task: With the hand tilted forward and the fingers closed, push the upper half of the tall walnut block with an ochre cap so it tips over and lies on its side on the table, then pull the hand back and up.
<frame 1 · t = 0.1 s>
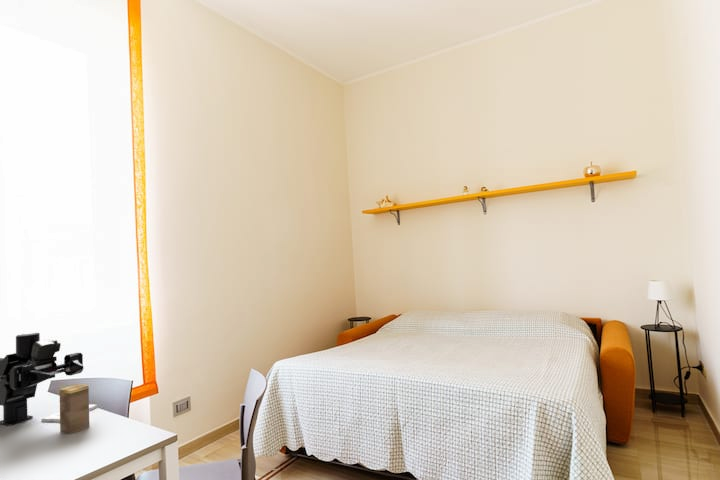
hand: (66, 371, 120), 17 cm above the table, tool horizontal, fingers open, 9 cm apart
walnut block: (74, 429, 119), on the table
external hard drive: (70, 416, 132), on the table
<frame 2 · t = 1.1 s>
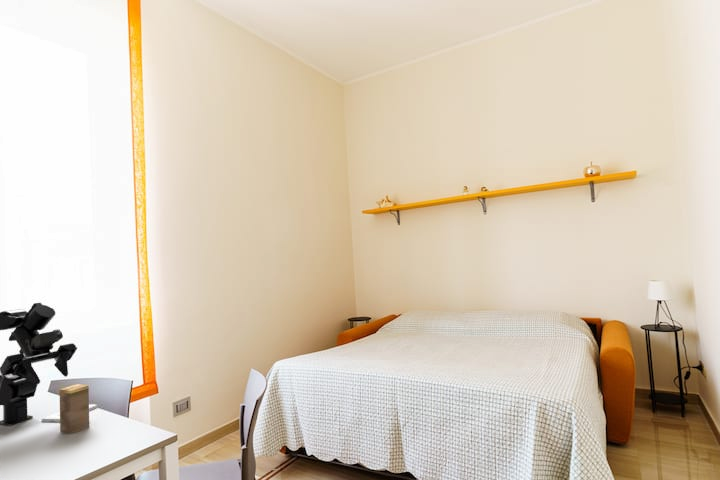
hand: (53, 379, 124), 14 cm above the table, tool tilted 45°, fingers open, 7 cm apart
nothing on the table moved.
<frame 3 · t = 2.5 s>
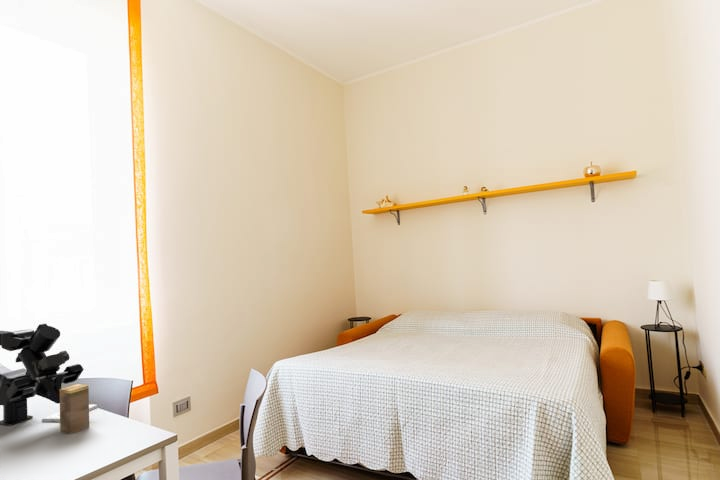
hand: (60, 402, 122), 7 cm above the table, tool tilted 45°, fingers closed
nothing on the table moved.
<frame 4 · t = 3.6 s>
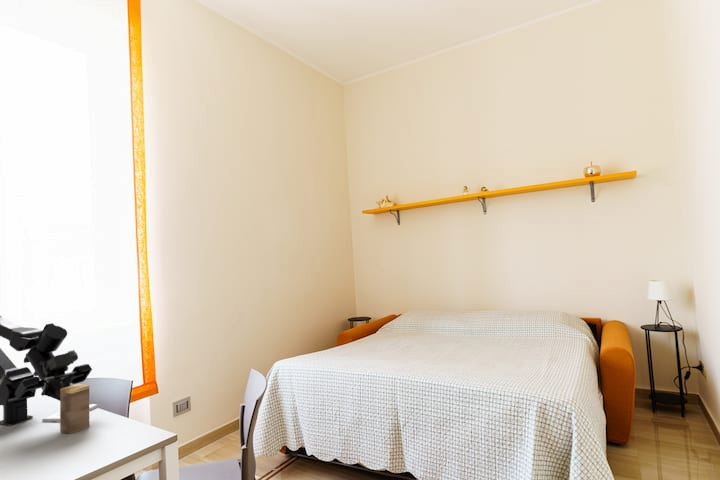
hand: (69, 402, 121), 7 cm above the table, tool tilted 45°, fingers closed, pressing on walnut block
walnut block: (74, 429, 119), on the table, touching gripper
everything else where it was.
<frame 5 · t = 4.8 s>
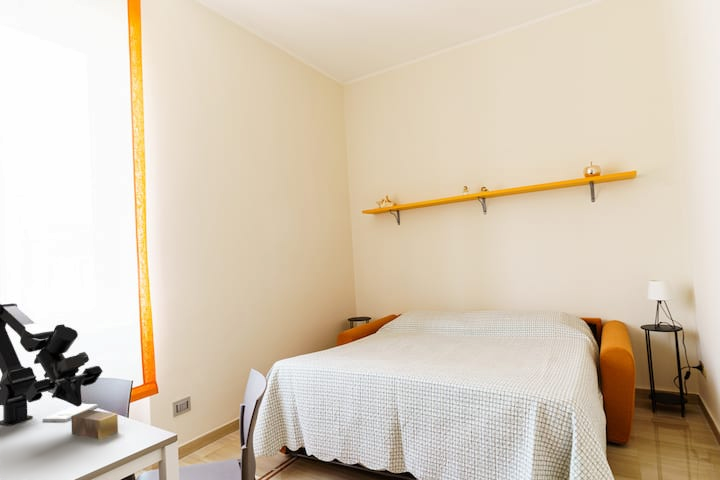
hand: (79, 405, 119), 7 cm above the table, tool tilted 45°, fingers closed
walnut block: (80, 421, 118), point 2 cm above the table, tilted 90°
everything else where it was.
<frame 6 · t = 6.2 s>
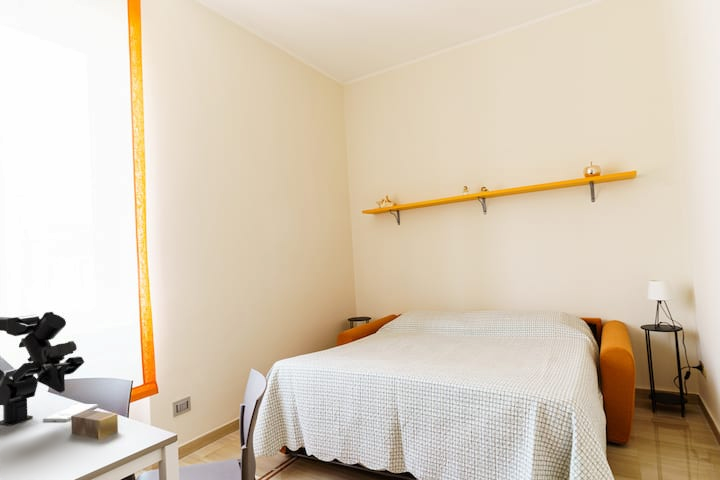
hand: (62, 391, 123), 10 cm above the table, tool tilted 40°, fingers closed
nothing on the table moved.
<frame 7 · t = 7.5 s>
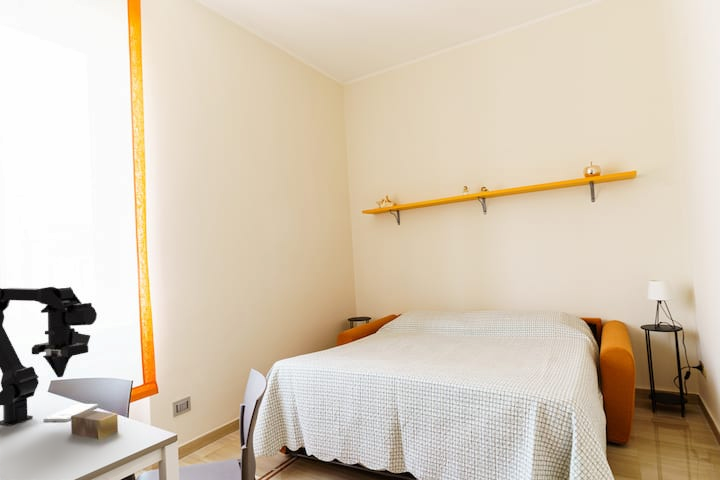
hand: (60, 377, 129), 13 cm above the table, tool pointing down, fingers closed
nothing on the table moved.
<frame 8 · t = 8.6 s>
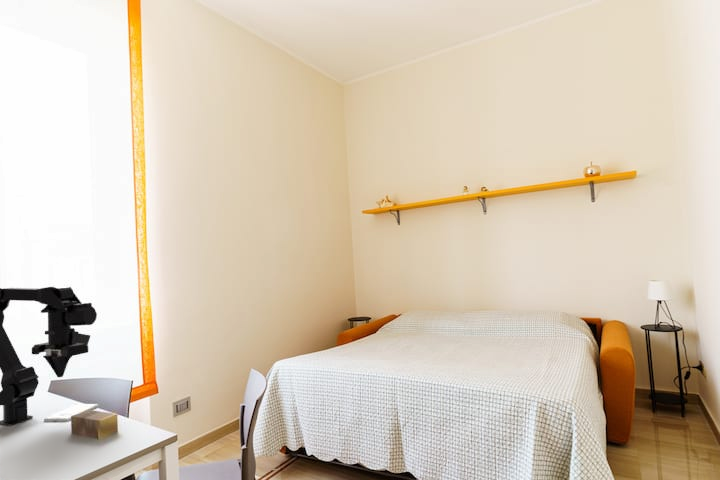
hand: (60, 377, 129), 13 cm above the table, tool pointing down, fingers closed
nothing on the table moved.
at the end: walnut block tilted 90°; walnut block inside the target area (1.4 cm from its centre), point 2.4 cm above the table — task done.
